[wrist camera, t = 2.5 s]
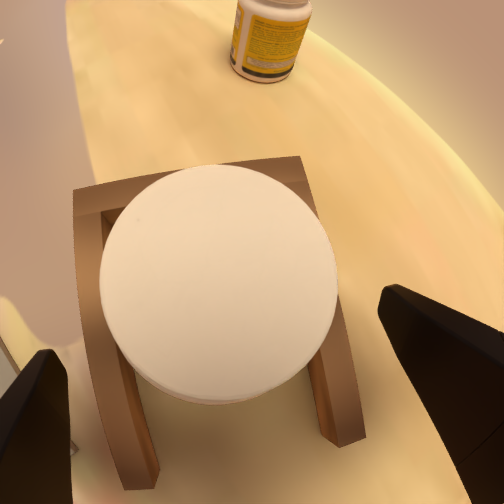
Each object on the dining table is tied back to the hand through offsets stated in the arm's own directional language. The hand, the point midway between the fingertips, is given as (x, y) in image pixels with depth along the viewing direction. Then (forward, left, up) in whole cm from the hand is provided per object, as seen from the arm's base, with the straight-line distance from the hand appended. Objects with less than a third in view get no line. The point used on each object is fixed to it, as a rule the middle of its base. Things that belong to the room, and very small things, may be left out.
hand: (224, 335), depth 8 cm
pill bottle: (+1, +1, -9) cm, 9 cm away
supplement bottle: (+19, +4, -9) cm, 21 cm away
